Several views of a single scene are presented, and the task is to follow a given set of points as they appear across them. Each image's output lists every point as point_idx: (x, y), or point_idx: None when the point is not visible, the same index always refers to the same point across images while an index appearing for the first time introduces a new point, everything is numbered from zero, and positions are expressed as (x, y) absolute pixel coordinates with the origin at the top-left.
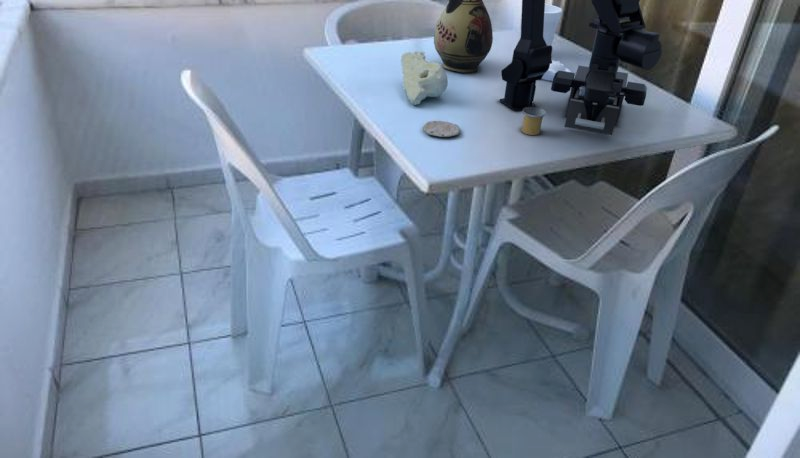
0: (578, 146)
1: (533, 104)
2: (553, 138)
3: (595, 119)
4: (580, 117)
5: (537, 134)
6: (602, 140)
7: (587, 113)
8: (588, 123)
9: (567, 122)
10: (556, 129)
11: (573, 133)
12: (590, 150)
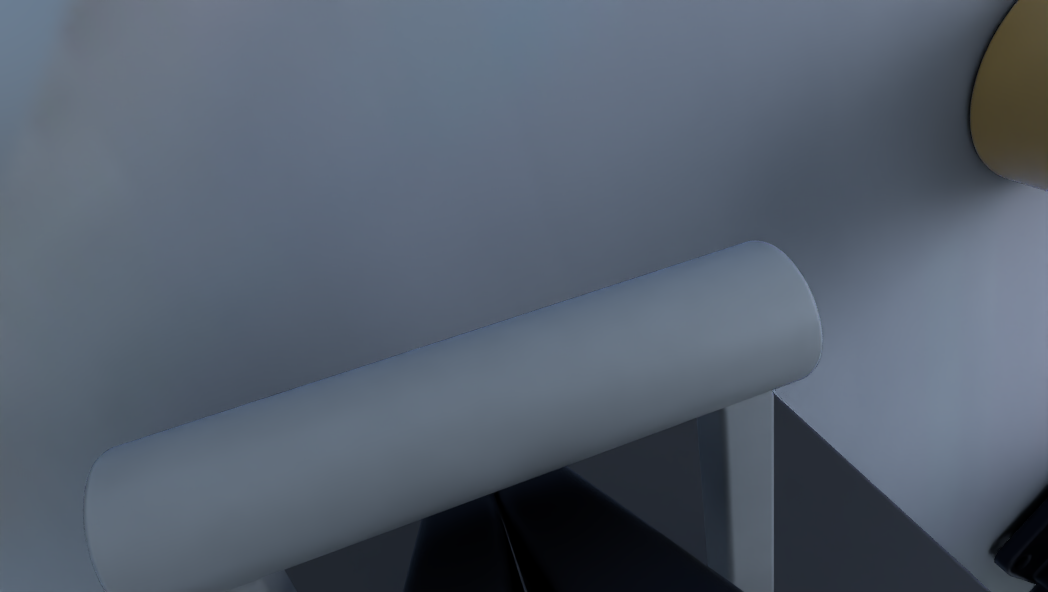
0: (447, 46)
1: (1024, 564)
2: (808, 68)
3: (414, 581)
4: (719, 501)
5: (993, 36)
6: None
7: (690, 588)
8: (501, 356)
9: (778, 426)
10: None
11: None
12: (223, 26)
